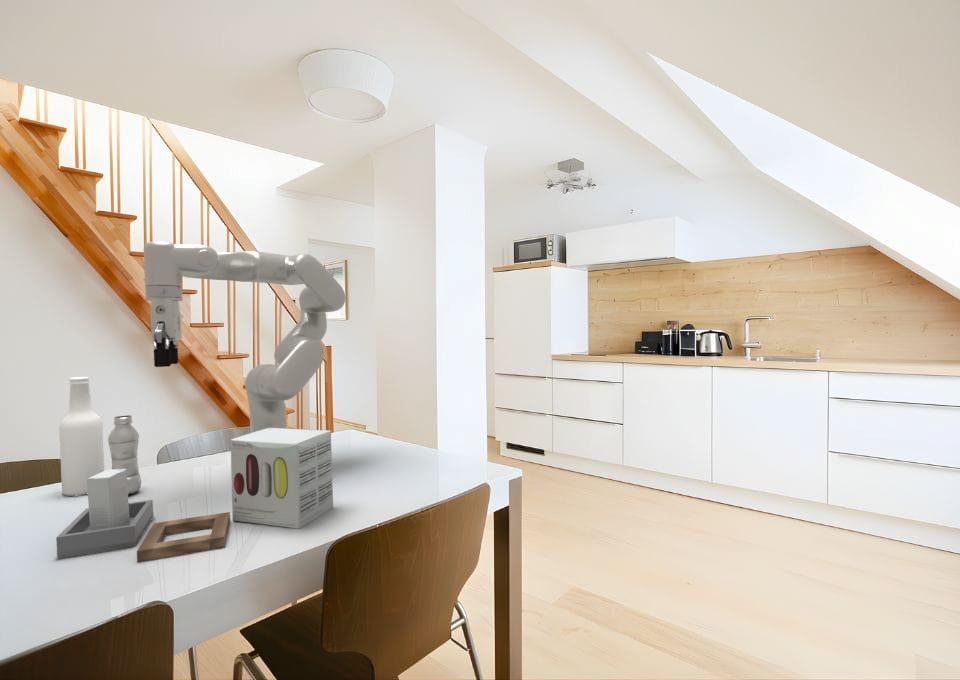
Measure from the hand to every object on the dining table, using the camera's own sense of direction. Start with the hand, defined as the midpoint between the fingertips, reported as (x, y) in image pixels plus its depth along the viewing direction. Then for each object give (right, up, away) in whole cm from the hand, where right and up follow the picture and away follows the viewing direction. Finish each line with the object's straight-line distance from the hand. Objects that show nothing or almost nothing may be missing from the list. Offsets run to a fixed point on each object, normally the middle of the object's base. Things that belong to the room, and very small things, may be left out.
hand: (166, 365), depth 119 cm
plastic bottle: (-15, -34, +7) cm, 38 cm away
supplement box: (+32, -33, -9) cm, 47 cm away
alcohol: (-28, -34, +10) cm, 45 cm away
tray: (0, -34, -19) cm, 39 cm away
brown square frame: (+18, -34, -21) cm, 43 cm away
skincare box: (+1, -33, -19) cm, 38 cm away
